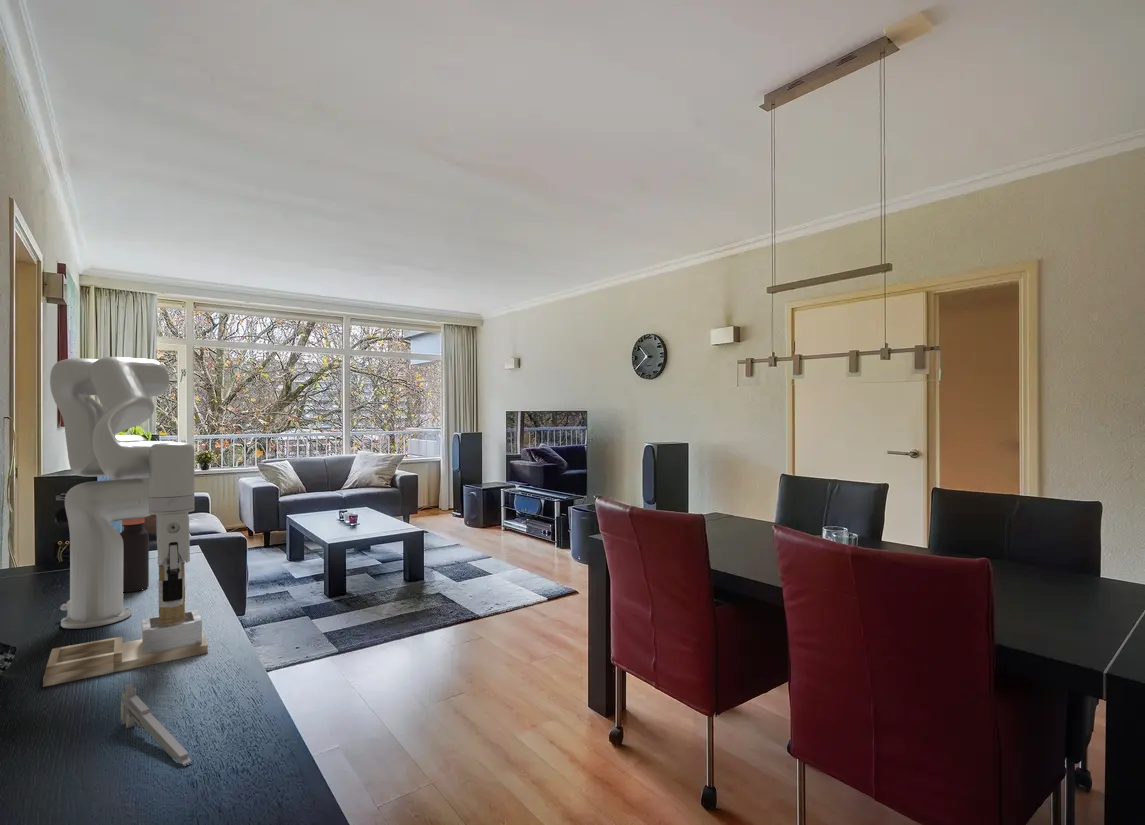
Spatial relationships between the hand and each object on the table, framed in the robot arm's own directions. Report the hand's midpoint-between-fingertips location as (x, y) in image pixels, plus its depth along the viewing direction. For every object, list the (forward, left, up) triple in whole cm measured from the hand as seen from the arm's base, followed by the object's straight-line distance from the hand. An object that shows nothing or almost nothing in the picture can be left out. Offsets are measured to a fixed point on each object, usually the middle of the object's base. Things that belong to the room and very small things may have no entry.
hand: (171, 596), depth 117 cm
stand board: (-4, -5, -11) cm, 12 cm away
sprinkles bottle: (0, 0, -5) cm, 5 cm away
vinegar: (-48, +34, -11) cm, 59 cm away
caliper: (+27, -29, -11) cm, 41 cm away
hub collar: (0, 0, -9) cm, 9 cm away
